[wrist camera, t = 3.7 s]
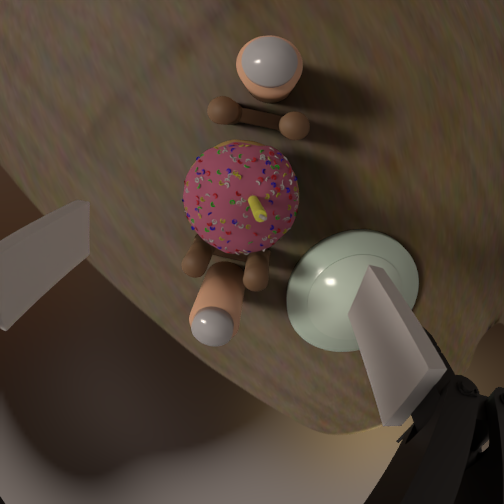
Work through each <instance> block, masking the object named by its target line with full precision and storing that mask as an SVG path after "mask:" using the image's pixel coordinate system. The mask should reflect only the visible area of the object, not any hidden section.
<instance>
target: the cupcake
mask: <svg viewBox="0 0 504 504" xmlns="http://www.w3.org/2000/svg"><path fill="white" fill-rule="evenodd" d="M196 160H197V161H196V162H195V163H194V164H193V165H192V167H191V169H190V170H189V172H188V174H187V176H186V180H185V181H184V182H185V187H184V194H183V199H182V201H183V202H184V208H185V213H186V214H187V216H186V217H187V218H188V220H189V222H190V223H191V225H192V227H191V228H192V230H194V229H195V231H196V232H197V233H198V234H199V236H200V237H201V238H202V239H203V240H205V241H206V242H207V243H209V244H210V245H212V246H214V247H216V248H218V249H219V250H221V251H223V252H225V253H230V254H238V255H239V254H241V253H244V254H245V255H248V254H249V253H251V252H257V251H261V250H262V251H263V252H264V251H265V249H267V248H269V247H271V246H272V245H273V244H275V242H277V241H278V240H279V239H280V238H281V237H282V236H283V235H284V234H285V233H286V232H287V231H288V230H290V229H291V226H292V224H293V223H294V220H295V217H296V214H297V210H298V205H299V188H298V183H297V177H296V176H295V173H294V171H293V170H292V167H291V165H290V163H289V161H288V159H287V158H286V157H285V156H284V155H283V154H282V153H281V152H279V151H278V150H277V149H275V148H273V147H271V146H265V145H262V144H260V143H258V142H254V141H245V140H229V141H226V142H223V143H221V144H219V145H217V146H215V147H213V148H210V149H208V150H207V151H205V152H204V153H203V154H201V156H200V157H197V159H196ZM246 253H248V254H246Z"/></svg>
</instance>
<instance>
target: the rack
mask: <svg viewBox="0 0 504 504" xmlns="http://www.w3.org/2000/svg"><path fill="white" fill-rule="evenodd" d="M207 112H208V116H209V118H210V119H211V120H212V121H213V122H214V123H217V124H227V125H233V124H236V123H238V122H243V123H248V124H253V125H257V126H262V127H267V128H271V129H275V130H279V131H280V133H281V134H282V135H284V136H285V137H287V138H288V139H291V140H300V139H302V138H304V137H305V136H306V135H307V134H308V132H309V129H310V124H309V120H308V119H307V117H306V116H305V115H304V114H302V113H300V112H289V113H287V114H285V115H284V116H278V115H274V114H270V113H265V112H261V111H256V110H251V109H246V108H242V107H241V106H240V105H239V104H238V103H236V102H235V101H233V100H232V99H231V98H229V97H225V96H220V97H217V98H215V99H213V100H212V101H211V102H210V104H209V106H208V110H207ZM246 254H248V253H246ZM212 255H217V256H221V257H226V258H230V259H235V260H239V261H244V262H246V266H245V271H244V277H243V283H244V285H245V286H246V288H248V289H249V290H251V291H261V290H263V289H265V288H266V287H267V285H268V282H269V258H270V250H268V249H265V251H264V252H263V251H262V250H261V251H257V252H251V253H249V254H248V255H245V254H244V253H241V254H239V255H238V254H230V253H225V252H223V251H221V250H219V249H218V248H216V247H214V246H212V245H210V244H209V243H207V242H206V241H205V240H203V239H202V238H201V237H200V236H199V235H198V234H197V235H196V236H195V238H194V243H193V244H192V246H191V248H190V249H189V251H188V252H187V254H186V256H185V257H184V259H183V261H182V269H183V271H184V272H185V273H186V274H187V275H188V276H190V277H195V278H196V277H200V276H202V275H203V274H204V273H205V271H206V269H207V266H208V264H209V262H210V259H211V257H212Z"/></svg>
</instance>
